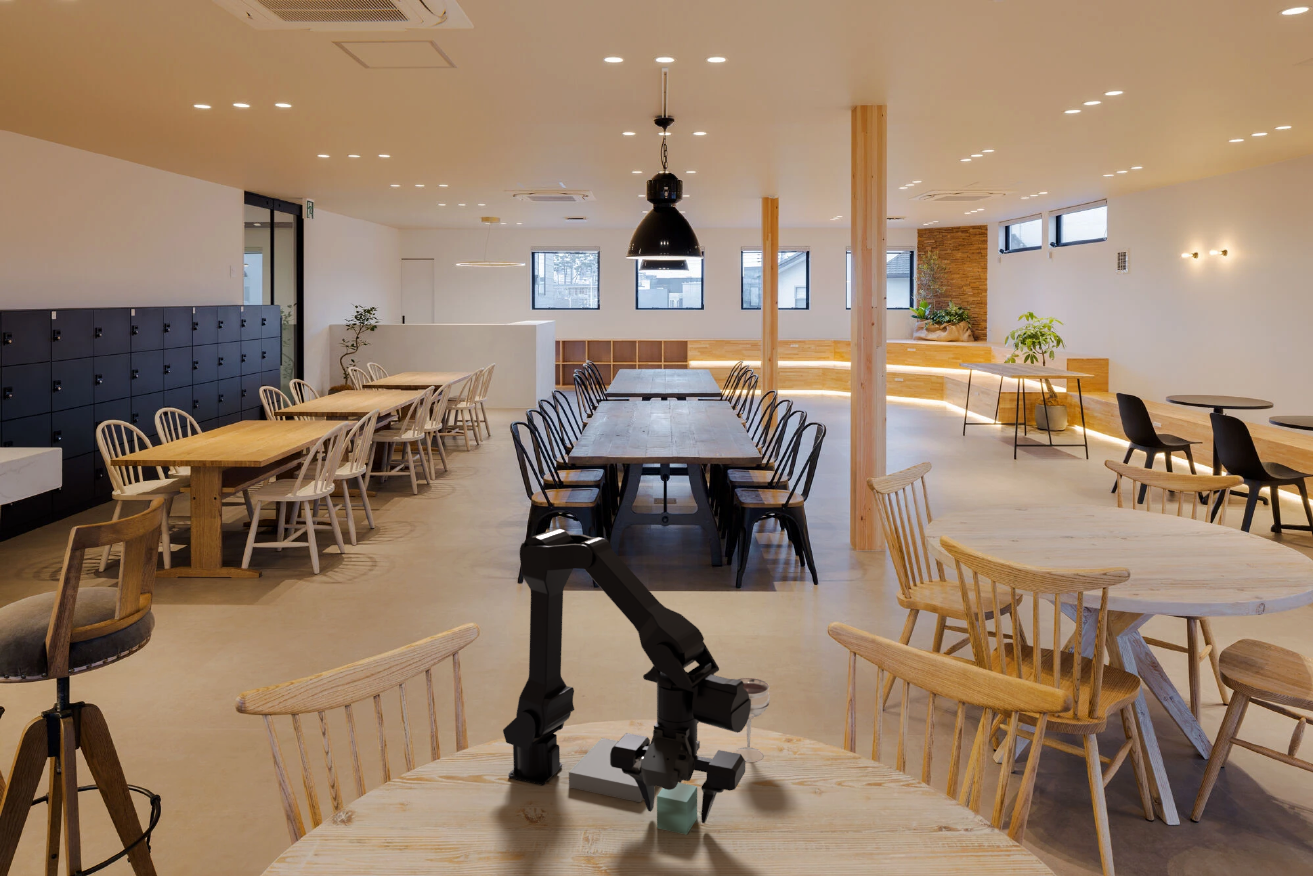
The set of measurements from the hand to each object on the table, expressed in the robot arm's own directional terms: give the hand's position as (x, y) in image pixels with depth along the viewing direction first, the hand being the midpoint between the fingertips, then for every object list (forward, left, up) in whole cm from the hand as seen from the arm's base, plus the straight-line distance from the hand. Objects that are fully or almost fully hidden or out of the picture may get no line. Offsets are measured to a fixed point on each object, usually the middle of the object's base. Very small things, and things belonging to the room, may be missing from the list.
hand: (677, 815), depth 130 cm
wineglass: (+4, +23, -1) cm, 23 cm away
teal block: (0, 0, -1) cm, 1 cm away
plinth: (-13, +9, -1) cm, 16 cm away
